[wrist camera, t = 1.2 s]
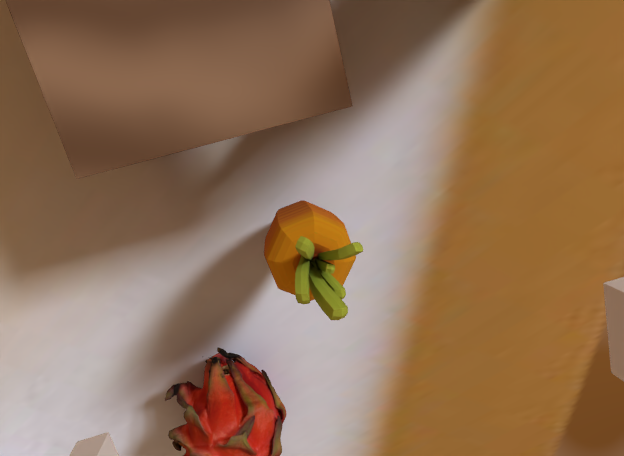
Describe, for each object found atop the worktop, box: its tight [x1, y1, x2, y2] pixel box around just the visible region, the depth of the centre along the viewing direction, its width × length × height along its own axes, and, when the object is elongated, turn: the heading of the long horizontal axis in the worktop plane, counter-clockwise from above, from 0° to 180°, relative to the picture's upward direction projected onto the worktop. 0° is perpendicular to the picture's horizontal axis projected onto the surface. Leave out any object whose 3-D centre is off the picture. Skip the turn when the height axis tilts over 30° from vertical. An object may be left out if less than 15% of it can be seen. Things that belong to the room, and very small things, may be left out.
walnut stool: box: [6, 0, 352, 179], centre depth 25 cm, size 14×14×10 cm
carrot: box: [264, 201, 363, 320], centre depth 26 cm, size 5×5×15 cm
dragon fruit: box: [165, 348, 286, 456], centre depth 33 cm, size 8×8×12 cm
